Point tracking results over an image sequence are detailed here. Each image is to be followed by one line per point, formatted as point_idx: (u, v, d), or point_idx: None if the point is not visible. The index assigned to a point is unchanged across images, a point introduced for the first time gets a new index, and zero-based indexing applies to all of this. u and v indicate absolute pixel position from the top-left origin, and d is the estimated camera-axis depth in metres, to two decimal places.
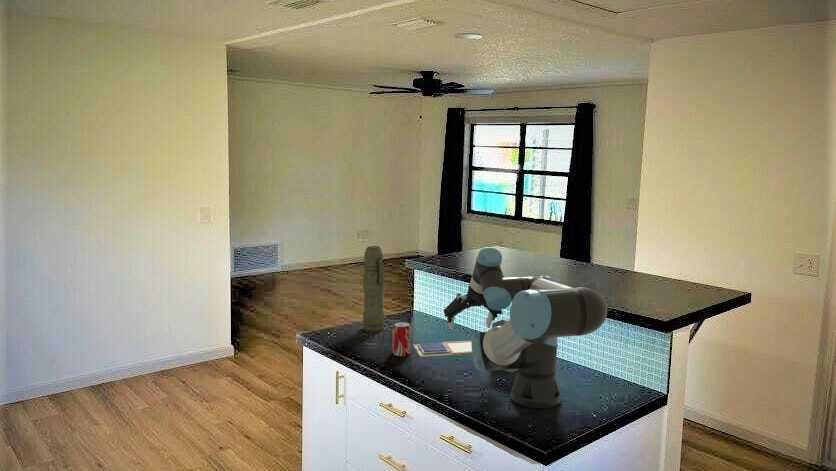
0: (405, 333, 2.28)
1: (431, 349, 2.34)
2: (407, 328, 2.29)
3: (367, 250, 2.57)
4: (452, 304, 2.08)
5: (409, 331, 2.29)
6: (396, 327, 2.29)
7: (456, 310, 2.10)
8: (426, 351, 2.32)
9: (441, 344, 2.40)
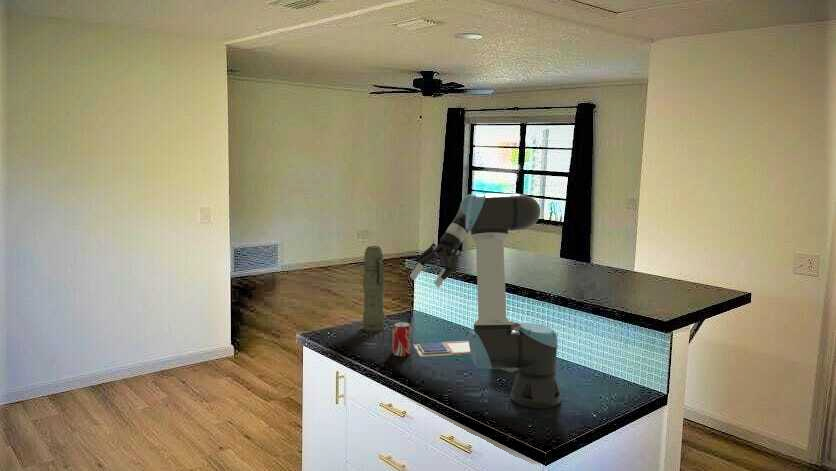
0: (405, 333, 2.28)
1: (431, 349, 2.34)
2: (407, 328, 2.29)
3: (367, 250, 2.57)
4: None
5: (409, 331, 2.29)
6: (396, 327, 2.29)
7: None
8: (426, 351, 2.32)
9: (441, 344, 2.40)
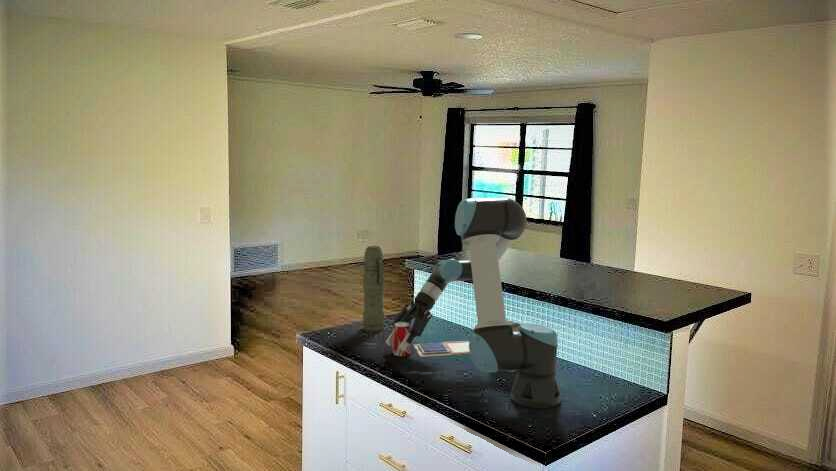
0: (405, 333, 2.28)
1: (431, 349, 2.34)
2: (407, 328, 2.29)
3: (367, 250, 2.57)
4: None
5: None
6: (396, 327, 2.29)
7: None
8: (426, 351, 2.32)
9: (441, 344, 2.40)
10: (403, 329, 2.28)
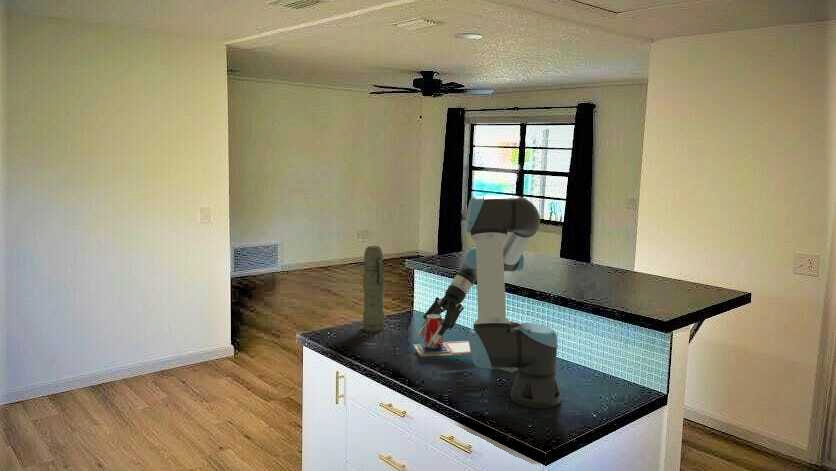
0: (437, 325, 2.33)
1: (431, 349, 2.34)
2: (439, 320, 2.33)
3: (367, 250, 2.57)
4: None
5: (441, 323, 2.34)
6: (428, 319, 2.33)
7: None
8: (426, 351, 2.32)
9: None
10: (435, 321, 2.33)
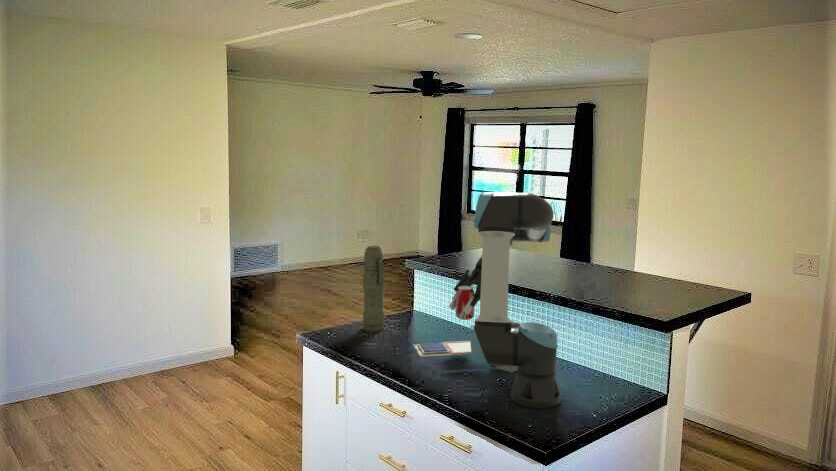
0: (469, 296, 2.33)
1: (431, 349, 2.34)
2: (471, 291, 2.34)
3: (367, 250, 2.57)
4: None
5: (473, 294, 2.35)
6: (460, 290, 2.34)
7: None
8: (426, 351, 2.32)
9: (441, 344, 2.40)
10: (467, 292, 2.33)
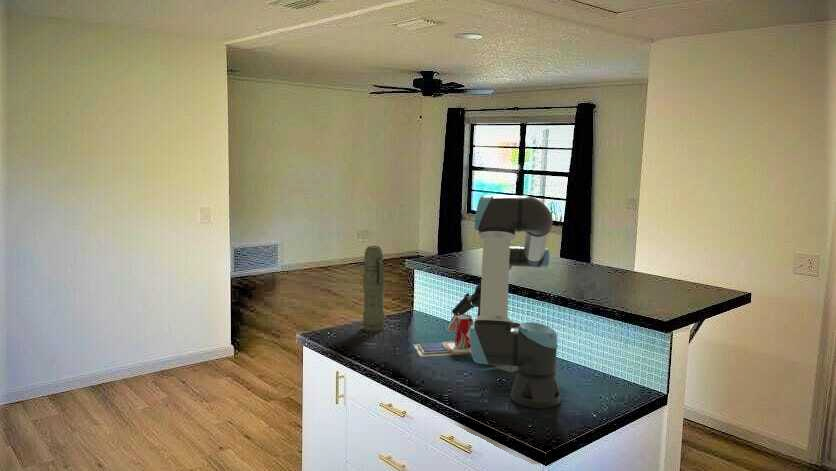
0: (468, 325, 2.35)
1: (431, 349, 2.34)
2: (469, 320, 2.36)
3: (367, 250, 2.57)
4: None
5: (471, 323, 2.37)
6: (459, 319, 2.36)
7: None
8: (426, 351, 2.32)
9: (441, 344, 2.40)
10: (466, 321, 2.35)
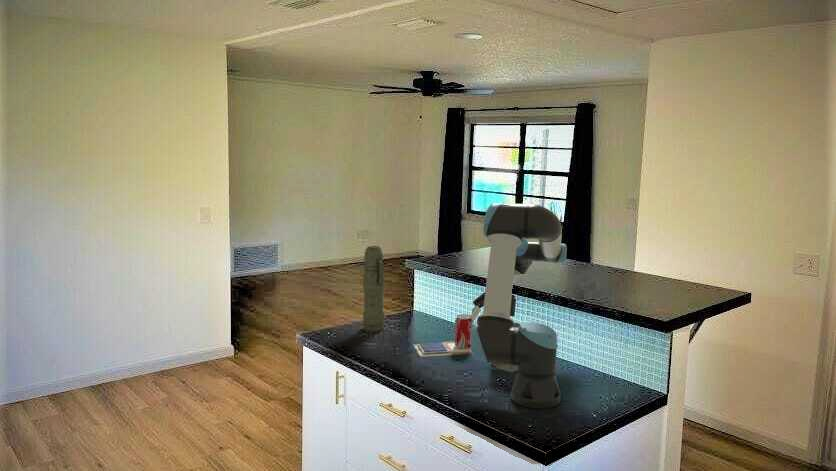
0: (468, 325, 2.35)
1: (431, 349, 2.34)
2: (470, 320, 2.36)
3: (367, 250, 2.57)
4: None
5: (471, 323, 2.37)
6: (459, 319, 2.36)
7: None
8: (426, 351, 2.32)
9: (441, 344, 2.40)
10: (466, 321, 2.35)
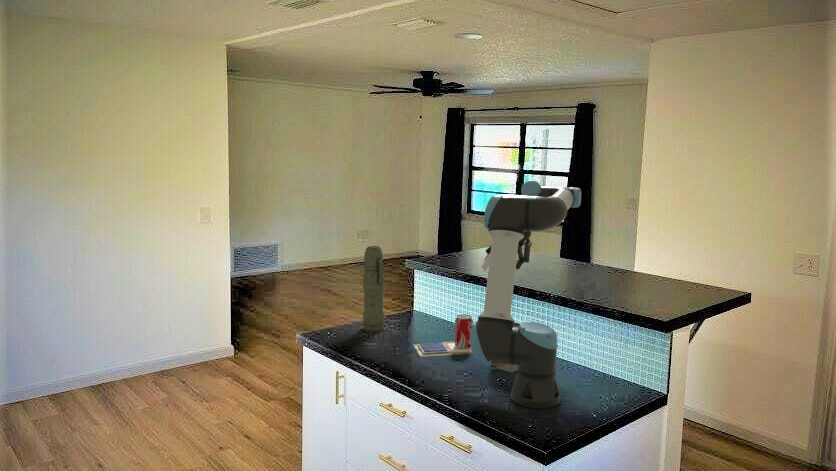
0: (468, 325, 2.35)
1: (431, 349, 2.34)
2: (469, 320, 2.36)
3: (367, 250, 2.57)
4: None
5: (471, 323, 2.37)
6: (459, 319, 2.36)
7: None
8: (426, 351, 2.32)
9: (441, 344, 2.40)
10: (466, 321, 2.35)
